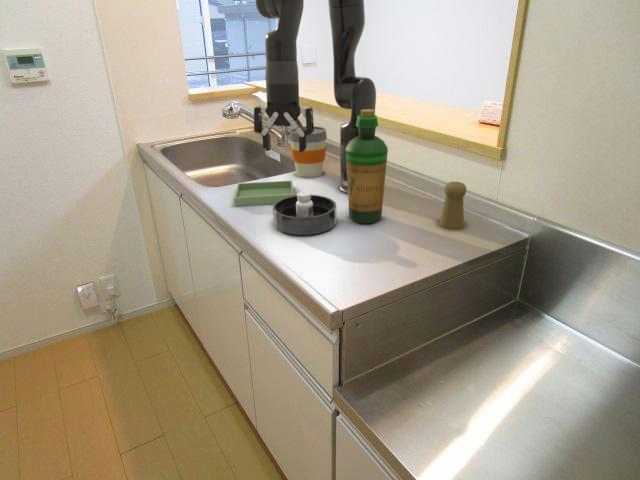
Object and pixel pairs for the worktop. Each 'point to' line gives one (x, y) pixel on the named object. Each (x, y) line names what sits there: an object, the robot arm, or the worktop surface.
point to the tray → (262, 192)
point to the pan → (296, 225)
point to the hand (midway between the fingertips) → (284, 151)
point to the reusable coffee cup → (309, 152)
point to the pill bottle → (304, 205)
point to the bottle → (366, 170)
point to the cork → (453, 206)
